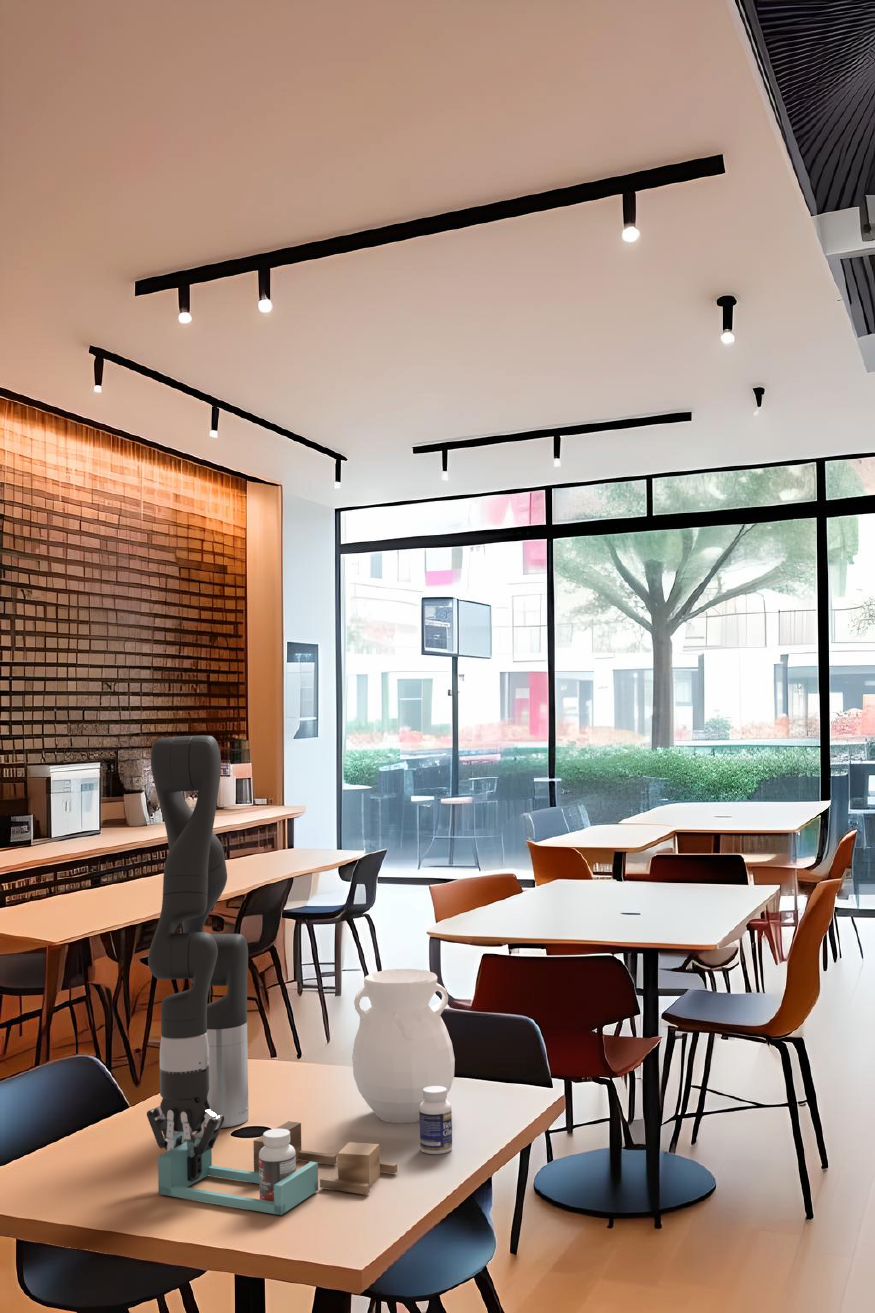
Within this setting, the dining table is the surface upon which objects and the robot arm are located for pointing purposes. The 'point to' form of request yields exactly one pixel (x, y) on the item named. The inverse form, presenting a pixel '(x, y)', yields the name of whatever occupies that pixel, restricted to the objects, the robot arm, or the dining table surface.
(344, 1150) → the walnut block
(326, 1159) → the walnut lane broken
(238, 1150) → the dining table surface
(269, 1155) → the pill bottle
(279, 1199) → the frame
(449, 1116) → the pill bottle
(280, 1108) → the dining table surface
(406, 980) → the white vase
